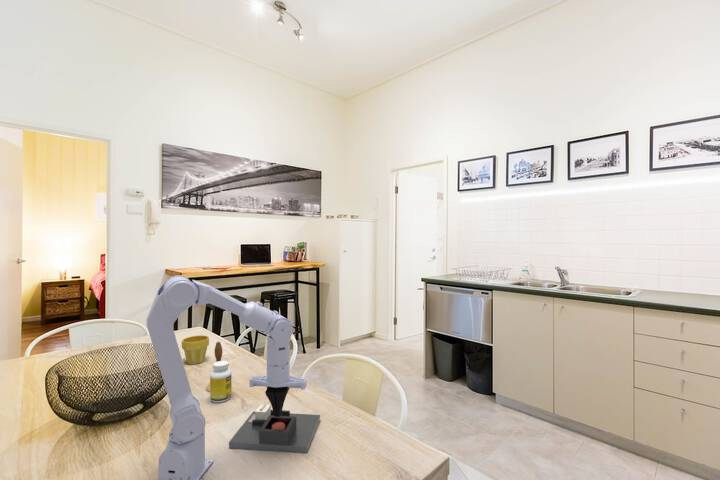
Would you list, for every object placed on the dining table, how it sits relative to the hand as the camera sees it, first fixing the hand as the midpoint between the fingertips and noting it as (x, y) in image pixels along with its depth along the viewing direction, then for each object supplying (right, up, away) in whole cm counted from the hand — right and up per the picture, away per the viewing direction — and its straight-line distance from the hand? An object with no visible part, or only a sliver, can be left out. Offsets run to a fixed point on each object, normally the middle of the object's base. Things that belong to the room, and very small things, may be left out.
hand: (278, 414), depth 88 cm
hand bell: (-28, -7, +32) cm, 43 cm away
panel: (-1, -7, +4) cm, 8 cm away
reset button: (0, -6, 0) cm, 6 cm away
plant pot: (-48, -6, +56) cm, 74 cm away
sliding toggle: (-6, -5, +8) cm, 11 cm away
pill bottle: (-24, -7, +23) cm, 34 cm away
